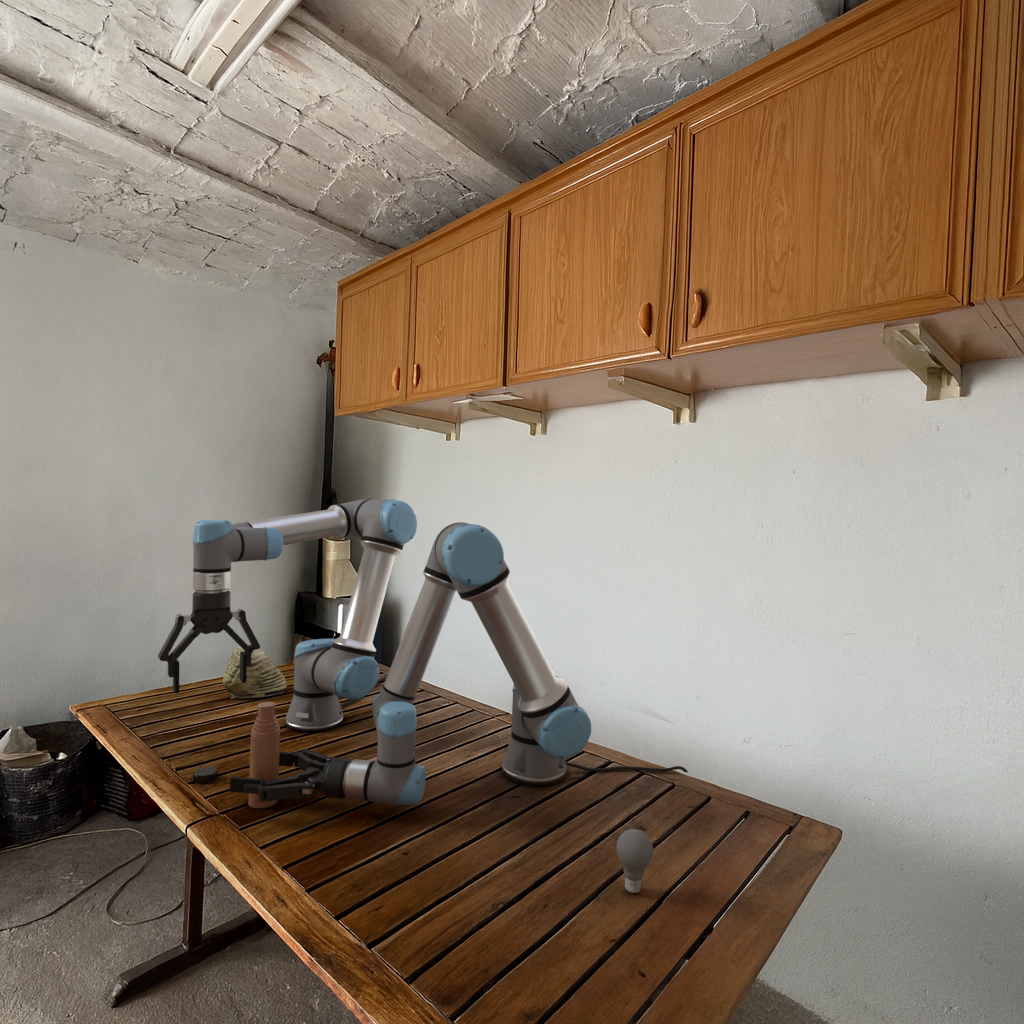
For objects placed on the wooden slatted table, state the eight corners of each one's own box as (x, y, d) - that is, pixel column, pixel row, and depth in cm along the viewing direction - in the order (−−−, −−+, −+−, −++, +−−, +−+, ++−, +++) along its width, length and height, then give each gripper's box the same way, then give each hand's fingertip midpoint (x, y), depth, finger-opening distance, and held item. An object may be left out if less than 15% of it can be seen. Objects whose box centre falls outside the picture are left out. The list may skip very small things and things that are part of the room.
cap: (219, 780, 139) (219, 772, 139) (195, 785, 136) (196, 777, 136) (214, 772, 143) (214, 765, 143) (191, 777, 140) (191, 769, 140)
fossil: (218, 695, 195) (220, 647, 195) (278, 685, 208) (279, 640, 207) (228, 703, 189) (230, 653, 188) (289, 692, 201) (290, 645, 201)
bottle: (241, 804, 129) (245, 705, 129) (262, 792, 134) (266, 698, 134) (263, 810, 127) (267, 710, 126) (283, 798, 132) (287, 702, 132)
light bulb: (610, 879, 108) (613, 822, 108) (644, 879, 109) (647, 822, 109) (619, 902, 102) (622, 840, 102) (655, 901, 103) (658, 840, 103)
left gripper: (149, 597, 128) (148, 701, 129) (275, 589, 143) (273, 681, 144) (144, 592, 134) (143, 691, 135) (265, 584, 149) (264, 673, 150)
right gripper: (324, 828, 117) (213, 817, 119) (367, 771, 141) (275, 763, 143) (325, 787, 116) (215, 777, 119) (368, 738, 141) (276, 730, 143)
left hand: (210, 686), depth 139 cm, fingers open, 13 cm apart
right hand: (248, 769), depth 131 cm, fingers open, 12 cm apart
